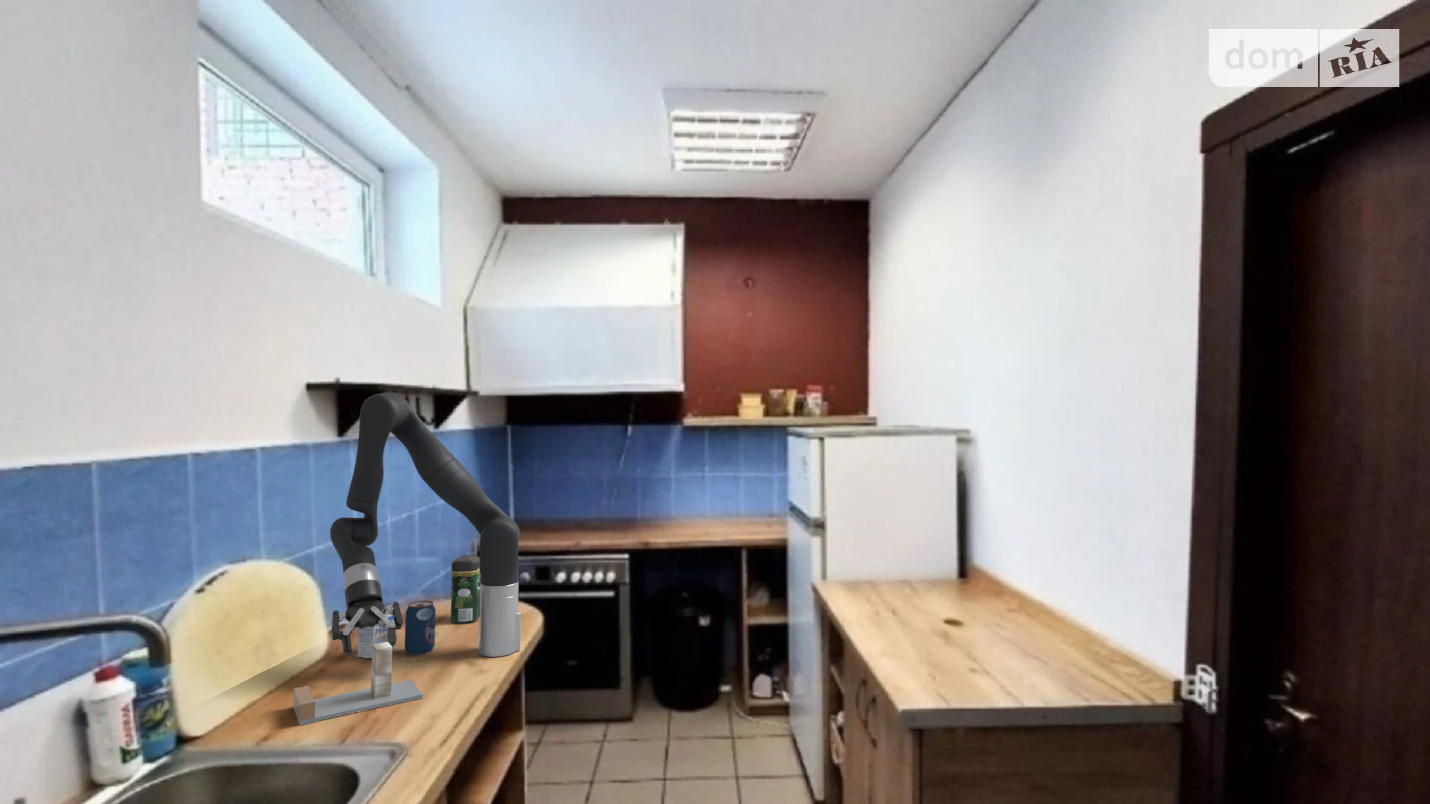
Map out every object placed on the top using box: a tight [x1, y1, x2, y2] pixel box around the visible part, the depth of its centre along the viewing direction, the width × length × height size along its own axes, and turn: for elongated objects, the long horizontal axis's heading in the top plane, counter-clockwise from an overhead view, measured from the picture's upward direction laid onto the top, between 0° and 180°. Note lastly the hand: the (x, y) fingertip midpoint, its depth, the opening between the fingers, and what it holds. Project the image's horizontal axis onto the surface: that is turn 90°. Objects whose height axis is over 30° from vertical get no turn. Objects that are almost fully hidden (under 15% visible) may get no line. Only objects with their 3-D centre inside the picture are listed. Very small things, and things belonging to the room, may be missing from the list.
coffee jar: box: [450, 554, 480, 625], centre depth 199 cm, size 10×8×19 cm
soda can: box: [404, 600, 436, 656], centre depth 170 cm, size 7×7×12 cm
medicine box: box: [357, 613, 395, 659], centre depth 169 cm, size 8×4×9 cm, turn 168°
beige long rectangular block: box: [370, 642, 393, 699], centre depth 141 cm, size 3×4×10 cm
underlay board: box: [293, 679, 424, 726], centre depth 139 cm, size 22×10×4 cm, turn 127°
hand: (371, 649), depth 151 cm, fingers open, 8 cm apart
